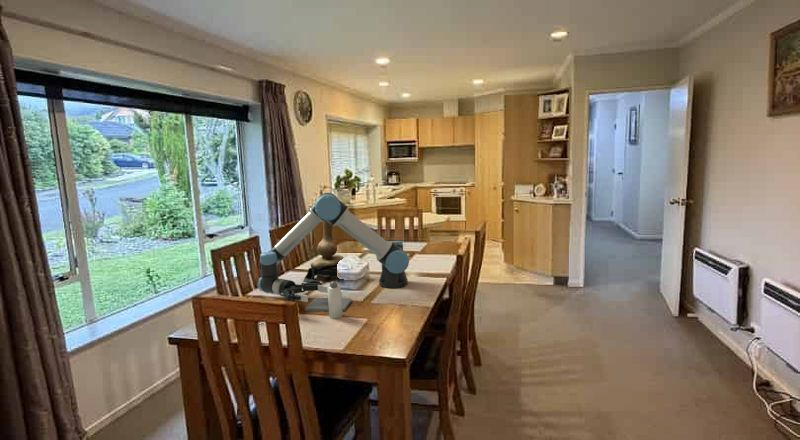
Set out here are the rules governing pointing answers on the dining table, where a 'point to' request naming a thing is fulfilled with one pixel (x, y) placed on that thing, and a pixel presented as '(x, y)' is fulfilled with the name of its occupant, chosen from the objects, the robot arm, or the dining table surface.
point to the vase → (324, 257)
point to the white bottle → (334, 300)
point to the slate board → (325, 304)
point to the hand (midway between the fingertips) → (318, 294)
